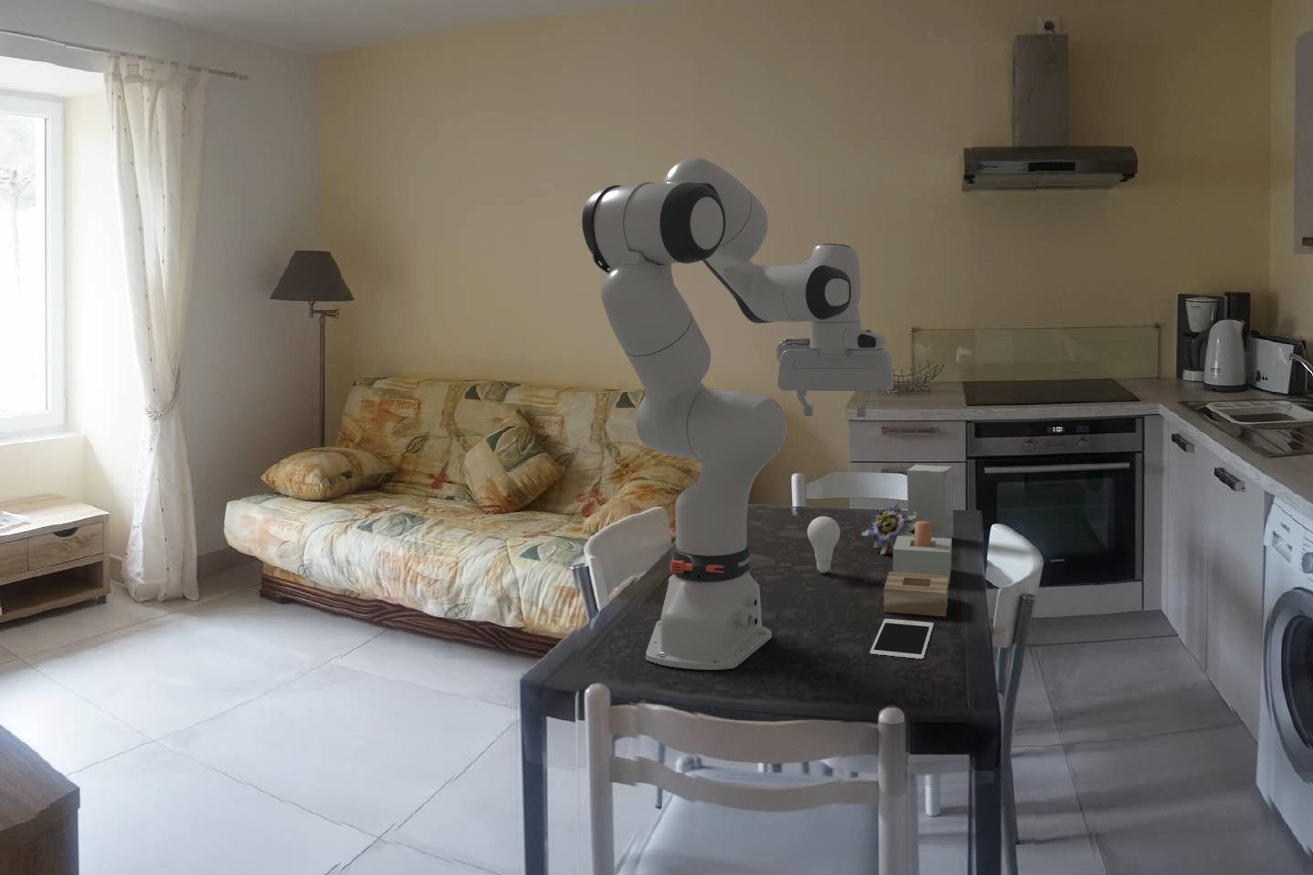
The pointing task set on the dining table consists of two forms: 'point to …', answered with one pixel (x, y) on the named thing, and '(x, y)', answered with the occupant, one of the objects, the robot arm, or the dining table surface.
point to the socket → (922, 556)
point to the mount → (916, 594)
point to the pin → (923, 534)
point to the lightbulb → (823, 540)
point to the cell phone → (902, 638)
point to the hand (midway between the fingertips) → (834, 416)
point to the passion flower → (890, 527)
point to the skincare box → (932, 497)
